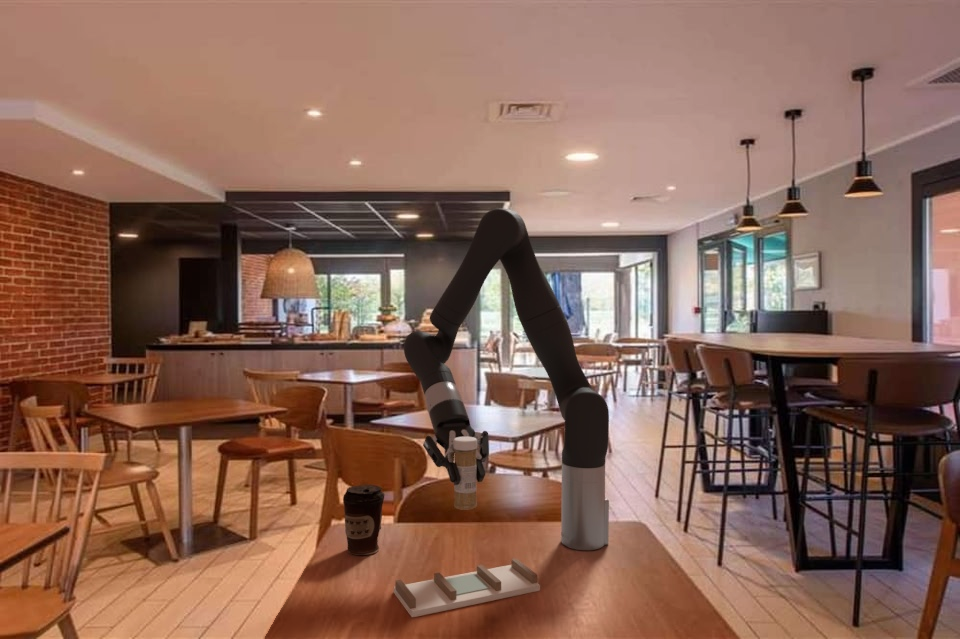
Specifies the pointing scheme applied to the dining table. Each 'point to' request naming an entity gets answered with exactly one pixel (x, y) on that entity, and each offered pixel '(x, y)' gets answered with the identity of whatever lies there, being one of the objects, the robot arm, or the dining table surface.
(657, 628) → the dining table surface
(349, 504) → the coffee cup
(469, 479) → the sprinkles bottle
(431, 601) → the rack
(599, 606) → the dining table surface
